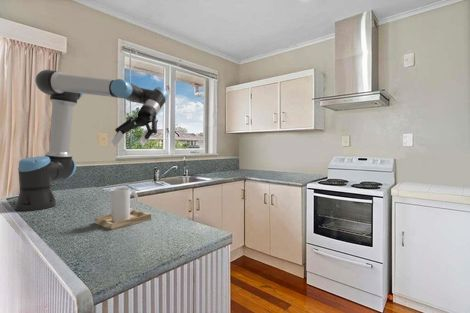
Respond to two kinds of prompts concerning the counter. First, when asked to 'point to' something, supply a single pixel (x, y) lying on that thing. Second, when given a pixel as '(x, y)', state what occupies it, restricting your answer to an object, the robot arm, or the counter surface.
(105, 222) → the keeper tray
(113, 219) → the mug
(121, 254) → the counter surface
